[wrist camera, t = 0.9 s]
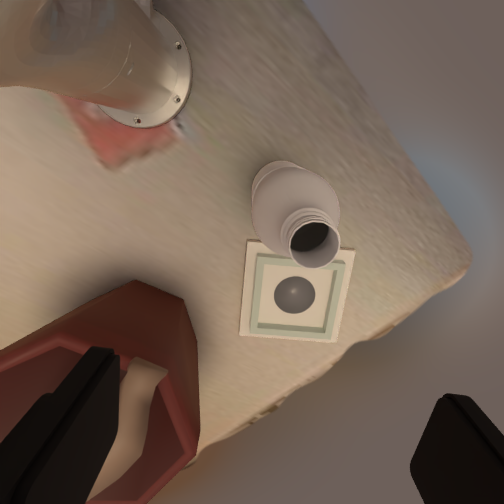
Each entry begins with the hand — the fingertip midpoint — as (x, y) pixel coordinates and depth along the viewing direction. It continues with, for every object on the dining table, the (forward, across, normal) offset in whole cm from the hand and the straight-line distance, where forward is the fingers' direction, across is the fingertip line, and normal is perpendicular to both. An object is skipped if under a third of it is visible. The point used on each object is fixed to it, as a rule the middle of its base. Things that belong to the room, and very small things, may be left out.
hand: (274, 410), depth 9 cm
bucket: (+35, +14, +23) cm, 44 cm away
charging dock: (+35, -7, +12) cm, 38 cm away
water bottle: (+35, -2, -2) cm, 35 cm away
